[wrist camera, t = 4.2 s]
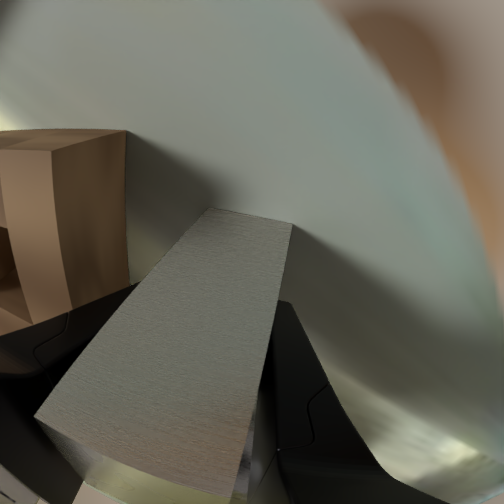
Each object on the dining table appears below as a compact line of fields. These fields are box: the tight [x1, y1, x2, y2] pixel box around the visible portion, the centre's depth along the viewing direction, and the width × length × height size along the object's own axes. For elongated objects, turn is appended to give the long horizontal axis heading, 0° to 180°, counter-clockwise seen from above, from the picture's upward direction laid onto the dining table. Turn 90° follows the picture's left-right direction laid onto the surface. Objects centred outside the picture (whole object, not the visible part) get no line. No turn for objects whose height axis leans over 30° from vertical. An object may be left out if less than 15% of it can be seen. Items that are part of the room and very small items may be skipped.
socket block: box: [0, 129, 130, 336], centre depth 11 cm, size 10×10×4 cm
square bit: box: [34, 208, 293, 504], centre depth 8 cm, size 3×3×9 cm
